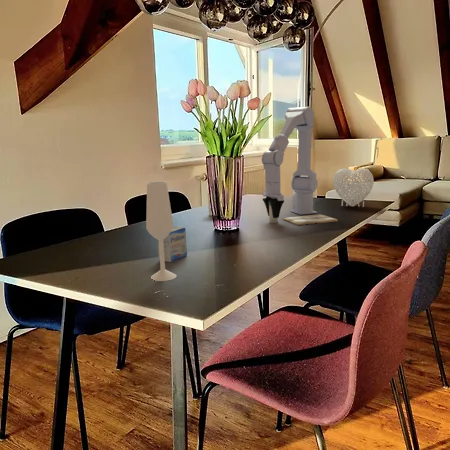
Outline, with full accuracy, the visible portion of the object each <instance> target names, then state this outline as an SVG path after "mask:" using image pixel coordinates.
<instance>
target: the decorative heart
mask: <svg viewBox="0 0 450 450" xmlns="http://www.w3.org/2000/svg"><path fill="white" fill-rule="evenodd" d="M333 175H334V176H333V187H334V189H335V192H336V193H337V195H338V196H339V198H341V207H343V206H344V202H345V203H346V205H345V206H346V207H348V206H350V207H355V206H358V207H359V208H360V203H361V202H362V208H364V207H365V199H366V198H367V197H368V196H369V194H370V193H371V191H372V189H373V186H374V182H375V181H374V176H373V173H372V172H371V171H370V170H369V169H367V168H358V169H355V170H354V171H353V170H352V169H349V168H346V167H345V168H340V169H338V170H337V171H336V172H335V173H334V174H333Z"/></svg>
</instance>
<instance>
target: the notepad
mask: <svg viewBox="0 0 450 450" xmlns="http://www.w3.org/2000/svg"><path fill="white" fill-rule="evenodd" d="M282 220H283V221H286V222H289V223H291V224H294V225H296V226H298V225H299V226H307V225H306V224H308V225H316V224H315V223H317V224H324V223H325V224H326V223H331V222H332V223H333V222H338V221H339V219H337V218H334V217H331V216H327V215H325V214H320V213H319V214H318V213H316V214H306V215H301V216H299V215H298V216H290V217H283V218H282Z"/></svg>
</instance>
